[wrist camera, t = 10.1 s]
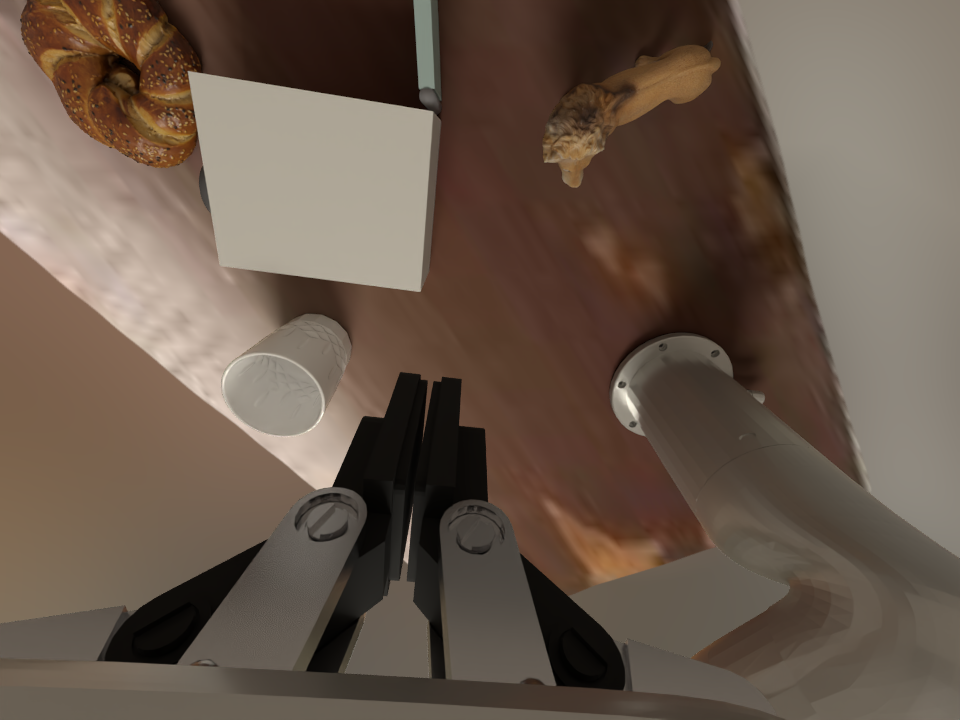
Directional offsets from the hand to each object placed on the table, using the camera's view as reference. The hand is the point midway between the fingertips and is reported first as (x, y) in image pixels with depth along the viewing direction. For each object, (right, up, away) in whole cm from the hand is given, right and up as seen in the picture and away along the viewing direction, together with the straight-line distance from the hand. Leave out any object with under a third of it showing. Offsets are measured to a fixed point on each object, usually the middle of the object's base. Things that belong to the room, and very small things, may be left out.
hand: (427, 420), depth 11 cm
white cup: (-15, +3, +29) cm, 33 cm away
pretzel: (-24, +23, +19) cm, 38 cm away
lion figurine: (+12, +21, +20) cm, 32 cm away
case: (-10, +16, +22) cm, 29 cm away
